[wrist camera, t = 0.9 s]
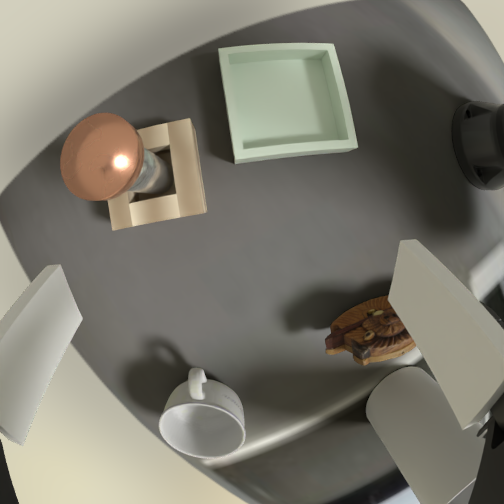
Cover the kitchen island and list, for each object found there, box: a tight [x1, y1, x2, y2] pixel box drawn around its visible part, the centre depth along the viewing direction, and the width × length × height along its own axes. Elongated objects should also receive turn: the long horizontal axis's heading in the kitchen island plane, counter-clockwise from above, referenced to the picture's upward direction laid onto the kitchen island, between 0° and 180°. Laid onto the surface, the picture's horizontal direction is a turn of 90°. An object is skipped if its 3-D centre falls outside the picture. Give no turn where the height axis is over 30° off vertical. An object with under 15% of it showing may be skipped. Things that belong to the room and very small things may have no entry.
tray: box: [218, 43, 358, 164], centre depth 30 cm, size 14×14×4 cm
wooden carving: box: [325, 295, 416, 365], centre depth 33 cm, size 16×5×10 cm, turn 111°
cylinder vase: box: [366, 367, 487, 504], centre depth 29 cm, size 12×12×25 cm
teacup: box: [159, 368, 246, 459], centre depth 34 cm, size 14×11×8 cm
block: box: [108, 118, 207, 230], centre depth 30 cm, size 10×10×5 cm
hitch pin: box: [60, 113, 174, 201], centre depth 23 cm, size 6×6×17 cm
